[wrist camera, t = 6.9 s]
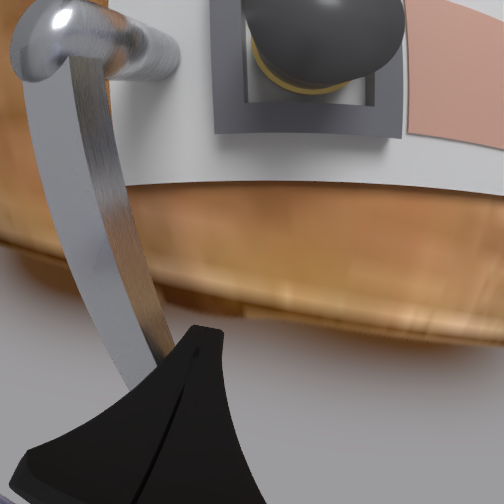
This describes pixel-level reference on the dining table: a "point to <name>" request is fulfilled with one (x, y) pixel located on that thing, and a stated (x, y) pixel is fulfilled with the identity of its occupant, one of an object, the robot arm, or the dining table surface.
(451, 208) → the dining table surface
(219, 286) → the dining table surface
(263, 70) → the plug
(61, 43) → the retention clip
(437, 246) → the dining table surface
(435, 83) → the pad
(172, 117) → the dock board
